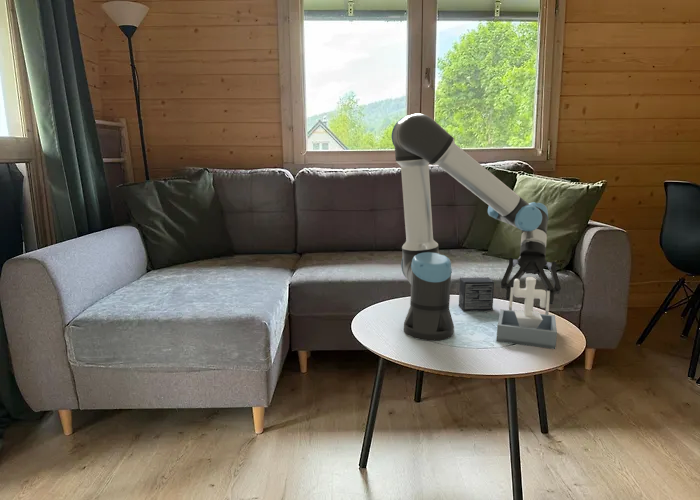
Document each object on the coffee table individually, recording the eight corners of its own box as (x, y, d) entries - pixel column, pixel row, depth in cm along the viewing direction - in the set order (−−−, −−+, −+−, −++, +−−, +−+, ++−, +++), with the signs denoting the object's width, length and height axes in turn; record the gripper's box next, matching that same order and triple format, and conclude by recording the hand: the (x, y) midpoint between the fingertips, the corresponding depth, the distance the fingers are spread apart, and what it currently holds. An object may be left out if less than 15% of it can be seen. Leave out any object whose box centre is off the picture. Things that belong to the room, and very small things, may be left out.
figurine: (545, 331, 146) (550, 282, 142) (511, 329, 147) (515, 280, 144) (541, 323, 152) (545, 275, 149) (509, 320, 154) (512, 273, 151)
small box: (486, 305, 179) (489, 276, 177) (493, 311, 173) (495, 281, 170) (457, 305, 178) (459, 276, 176) (462, 311, 172) (464, 281, 170)
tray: (496, 341, 146) (497, 325, 145) (499, 324, 160) (500, 309, 159) (555, 349, 141) (557, 332, 140) (553, 330, 155) (554, 315, 154)
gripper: (570, 256, 156) (568, 321, 145) (496, 250, 164) (489, 312, 152) (573, 242, 150) (571, 309, 139) (496, 237, 158) (489, 300, 146)
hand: (528, 310), depth 146 cm, fingers closed on figurine, 9 cm apart
